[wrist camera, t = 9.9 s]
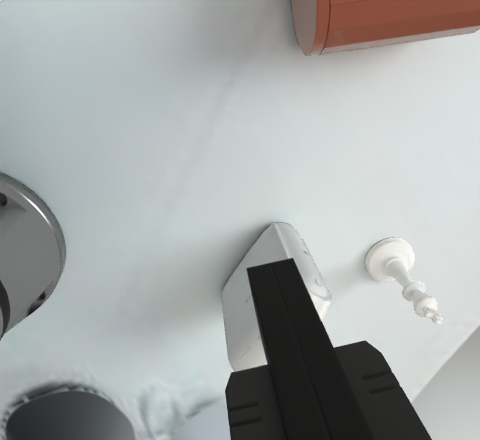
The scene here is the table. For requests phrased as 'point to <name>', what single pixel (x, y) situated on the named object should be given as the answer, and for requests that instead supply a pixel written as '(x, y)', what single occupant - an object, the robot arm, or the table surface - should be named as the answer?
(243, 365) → the photo printer
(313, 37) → the cup
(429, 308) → the chess piece
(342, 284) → the table surface
